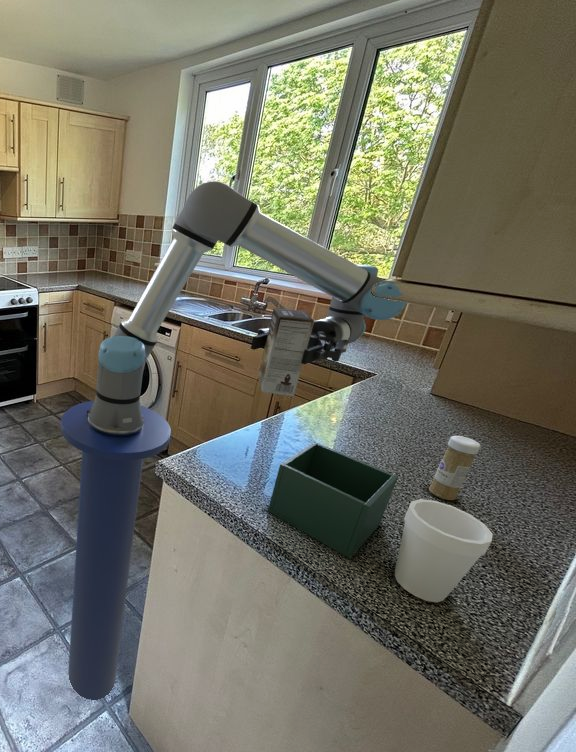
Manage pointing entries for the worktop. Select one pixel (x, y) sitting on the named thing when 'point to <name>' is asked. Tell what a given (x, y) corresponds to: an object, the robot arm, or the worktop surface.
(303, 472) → the waste bin
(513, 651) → the worktop surface
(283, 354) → the coffee box
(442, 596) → the foam cup
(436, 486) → the sprinkles bottle
